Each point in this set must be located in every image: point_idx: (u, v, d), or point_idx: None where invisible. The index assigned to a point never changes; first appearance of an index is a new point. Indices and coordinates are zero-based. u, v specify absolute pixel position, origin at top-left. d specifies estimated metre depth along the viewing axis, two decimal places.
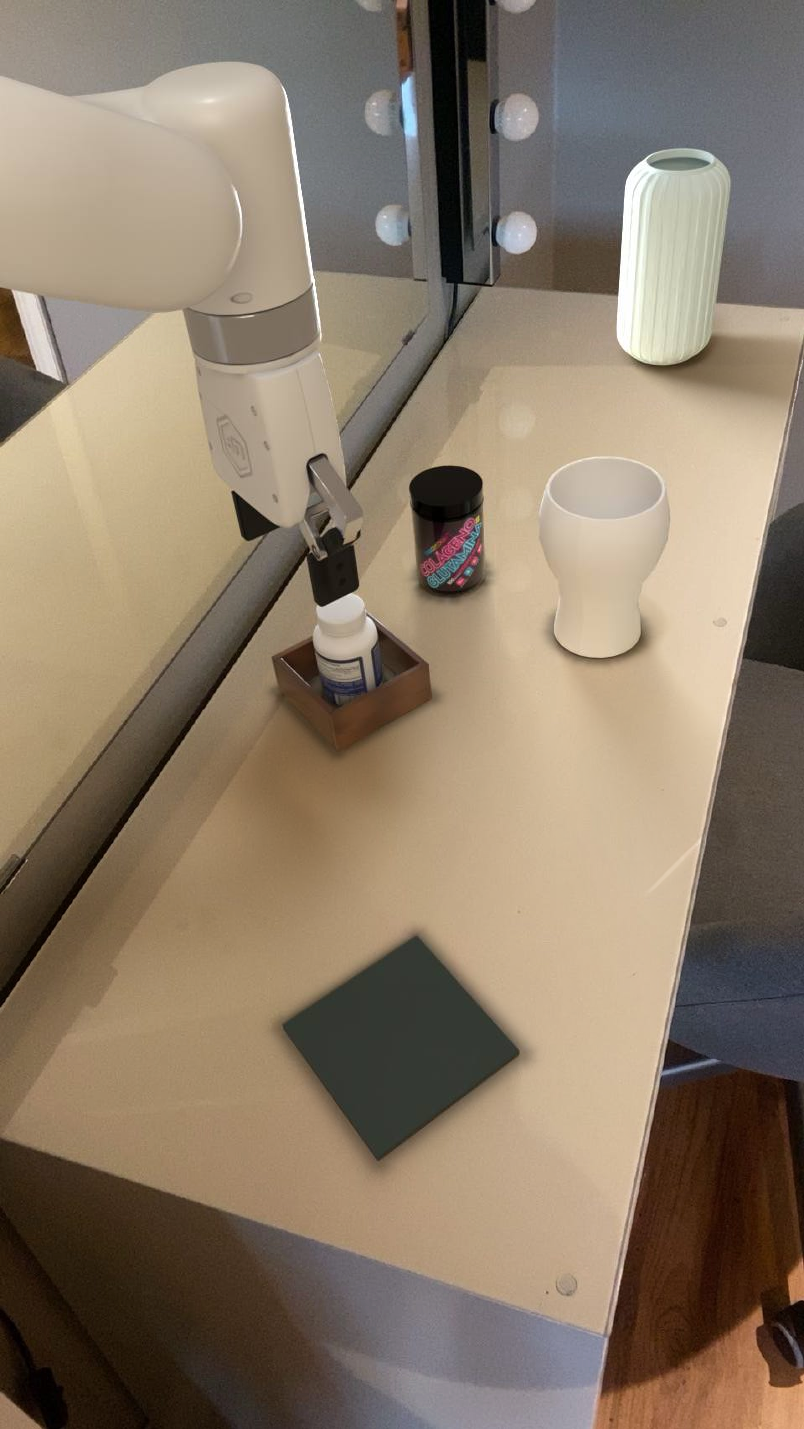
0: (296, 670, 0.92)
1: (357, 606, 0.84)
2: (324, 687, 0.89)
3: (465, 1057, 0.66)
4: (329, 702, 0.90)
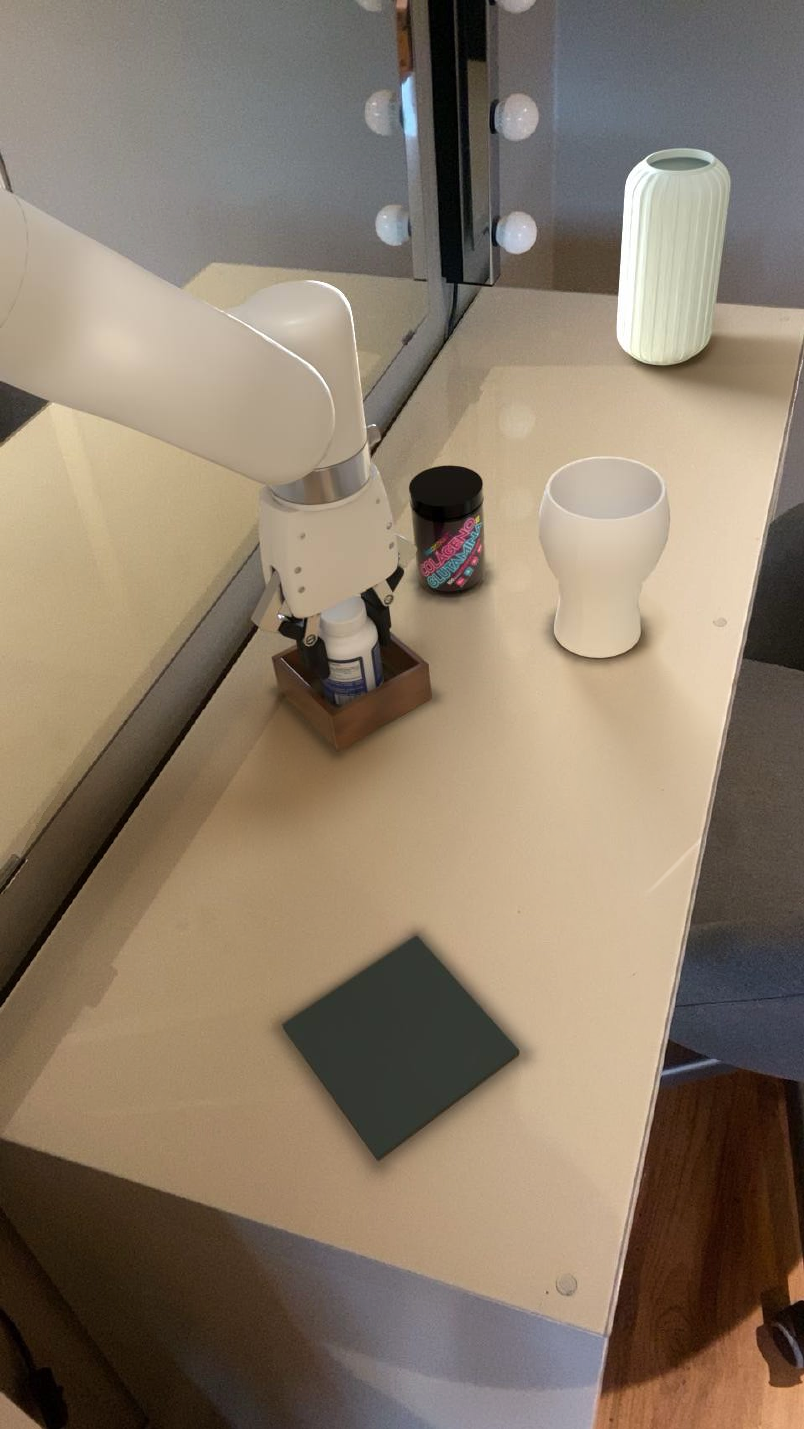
0: (296, 670, 0.92)
1: (357, 605, 0.84)
2: (324, 686, 0.89)
3: (465, 1057, 0.66)
4: (329, 702, 0.90)
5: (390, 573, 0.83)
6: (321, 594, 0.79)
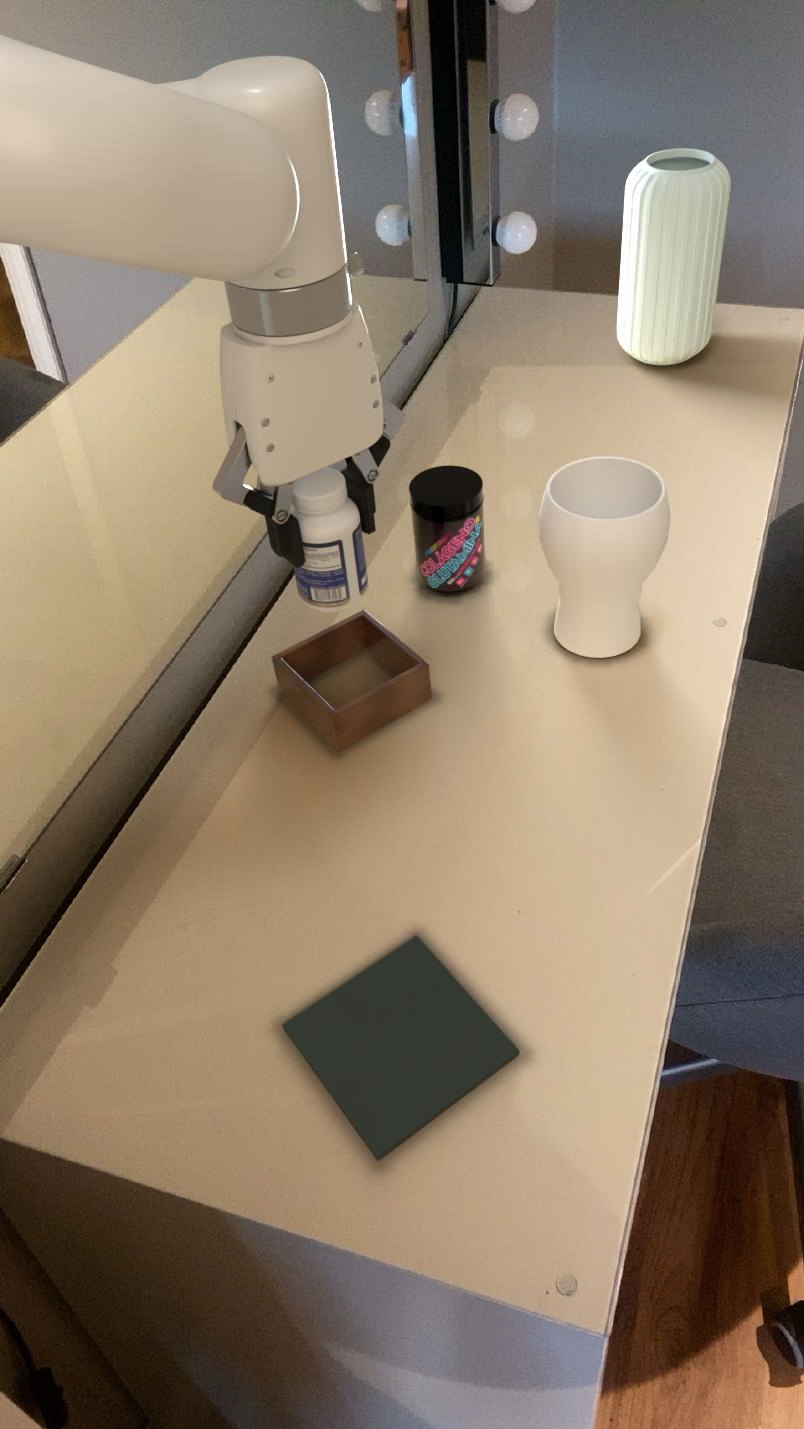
0: (296, 670, 0.92)
1: (336, 480, 0.73)
2: (299, 580, 0.77)
3: (465, 1057, 0.66)
4: (304, 599, 0.78)
5: (374, 440, 0.72)
6: (294, 457, 0.68)
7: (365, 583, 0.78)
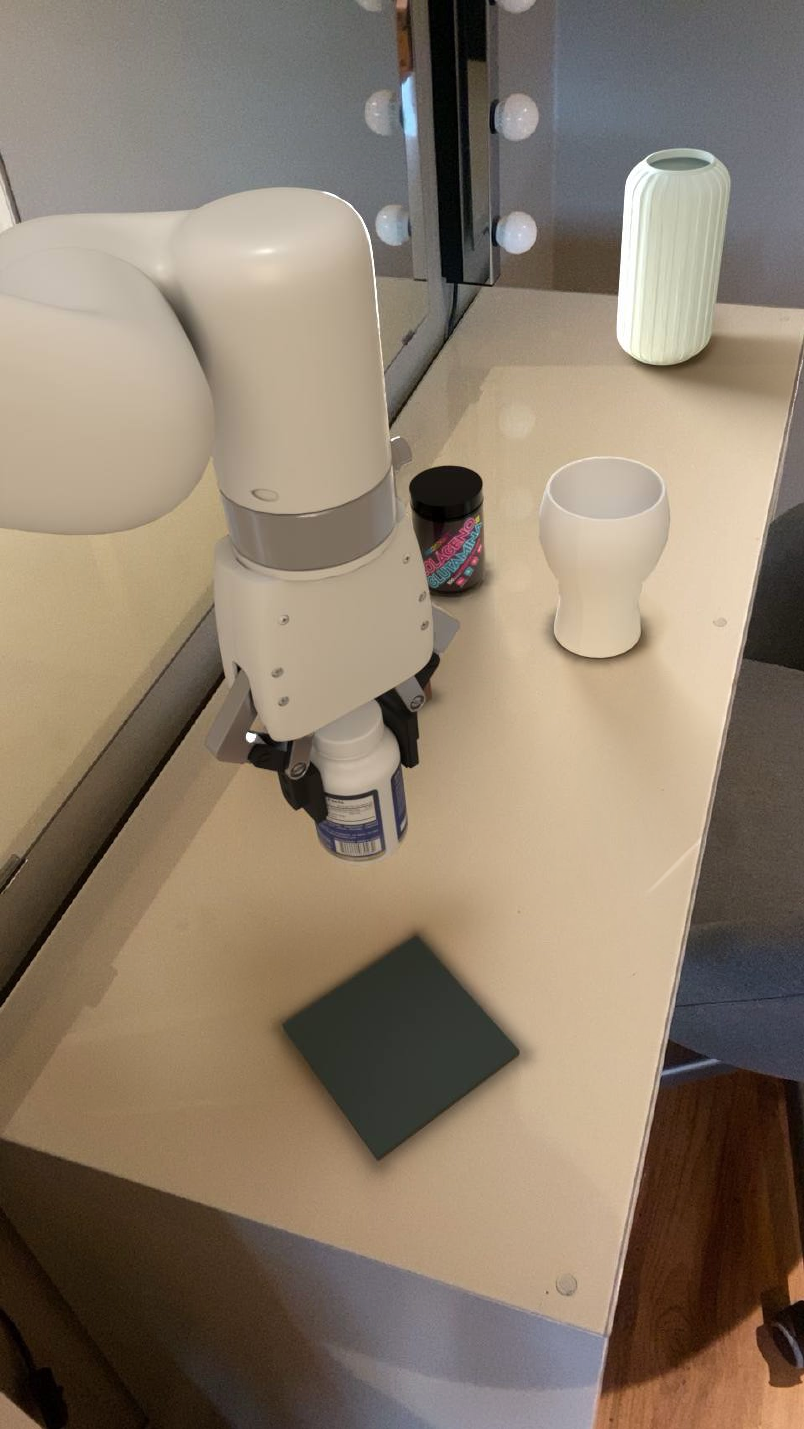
0: None
1: (370, 713, 0.55)
2: (319, 827, 0.59)
3: (465, 1057, 0.66)
4: (326, 848, 0.60)
5: (421, 666, 0.54)
6: (315, 705, 0.50)
7: (405, 826, 0.60)
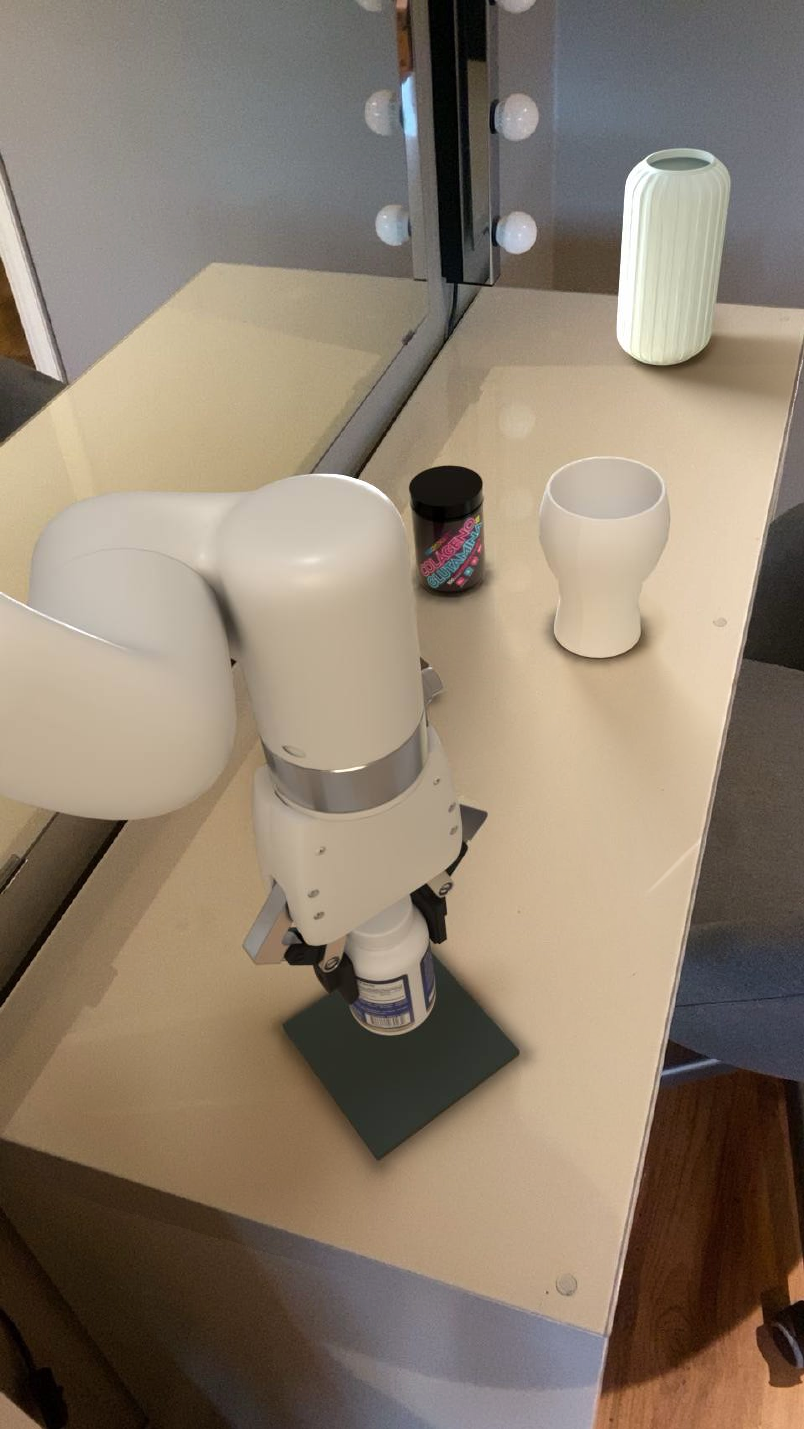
0: None
1: (401, 903, 0.57)
2: None
3: (465, 1057, 0.66)
4: (357, 1017, 0.62)
5: (450, 862, 0.55)
6: (349, 914, 0.52)
7: (433, 996, 0.62)
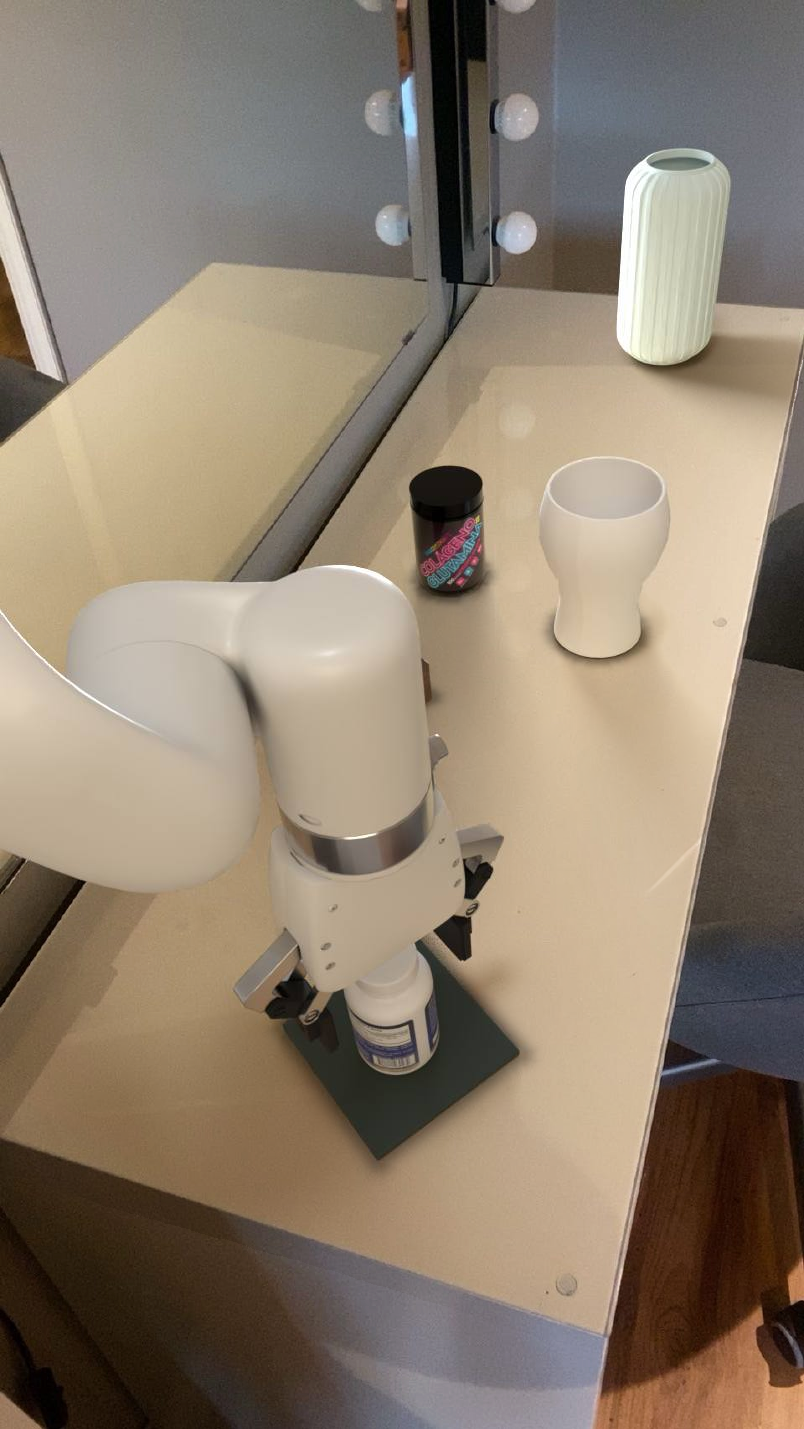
0: None
1: (407, 953, 0.60)
2: (358, 1041, 0.65)
3: (465, 1057, 0.66)
4: (364, 1057, 0.66)
5: (454, 912, 0.59)
6: (358, 963, 0.55)
7: (436, 1037, 0.66)
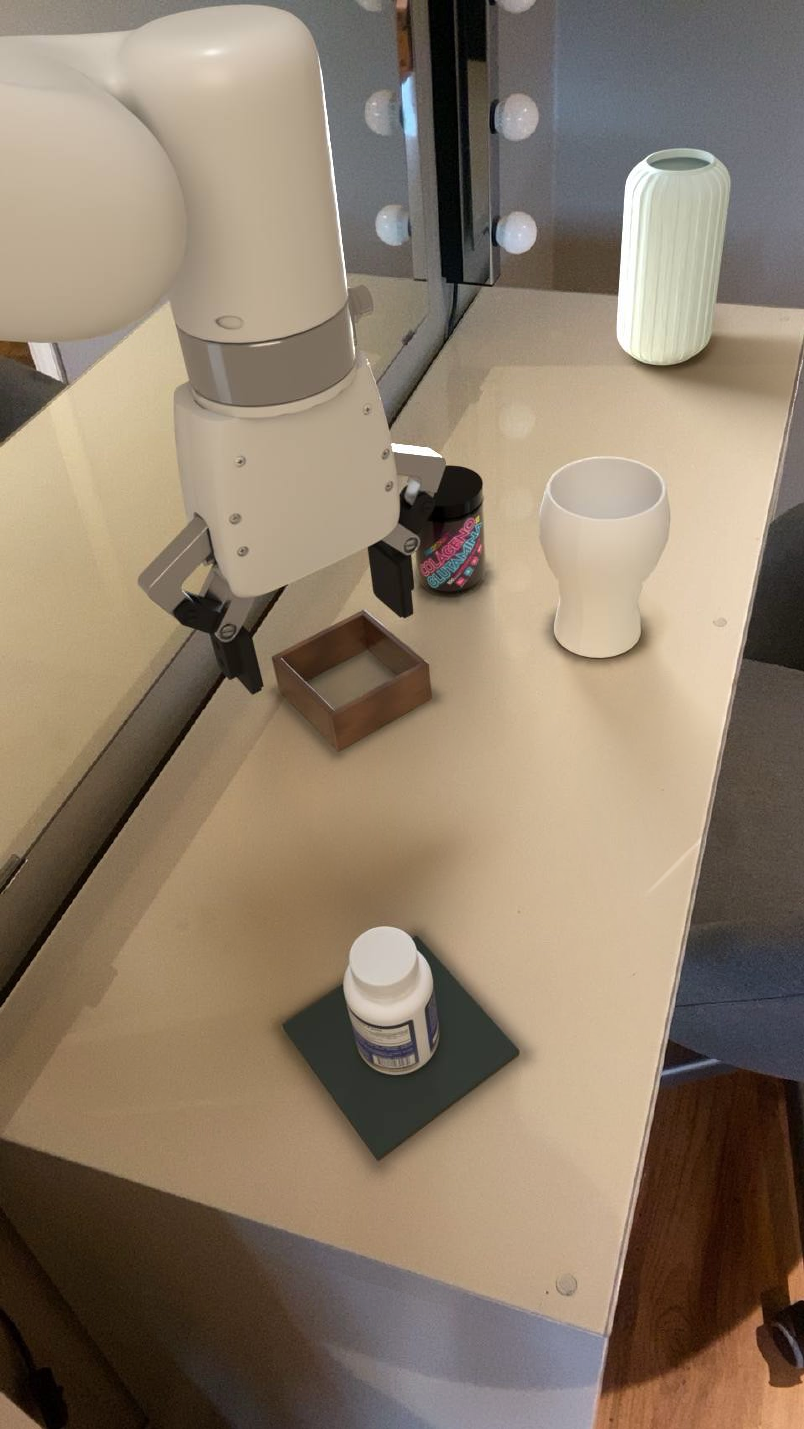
0: (296, 670, 0.92)
1: (407, 953, 0.60)
2: (358, 1041, 0.65)
3: (465, 1057, 0.66)
4: (364, 1057, 0.66)
5: (387, 531, 0.54)
6: (276, 560, 0.50)
7: (436, 1037, 0.66)
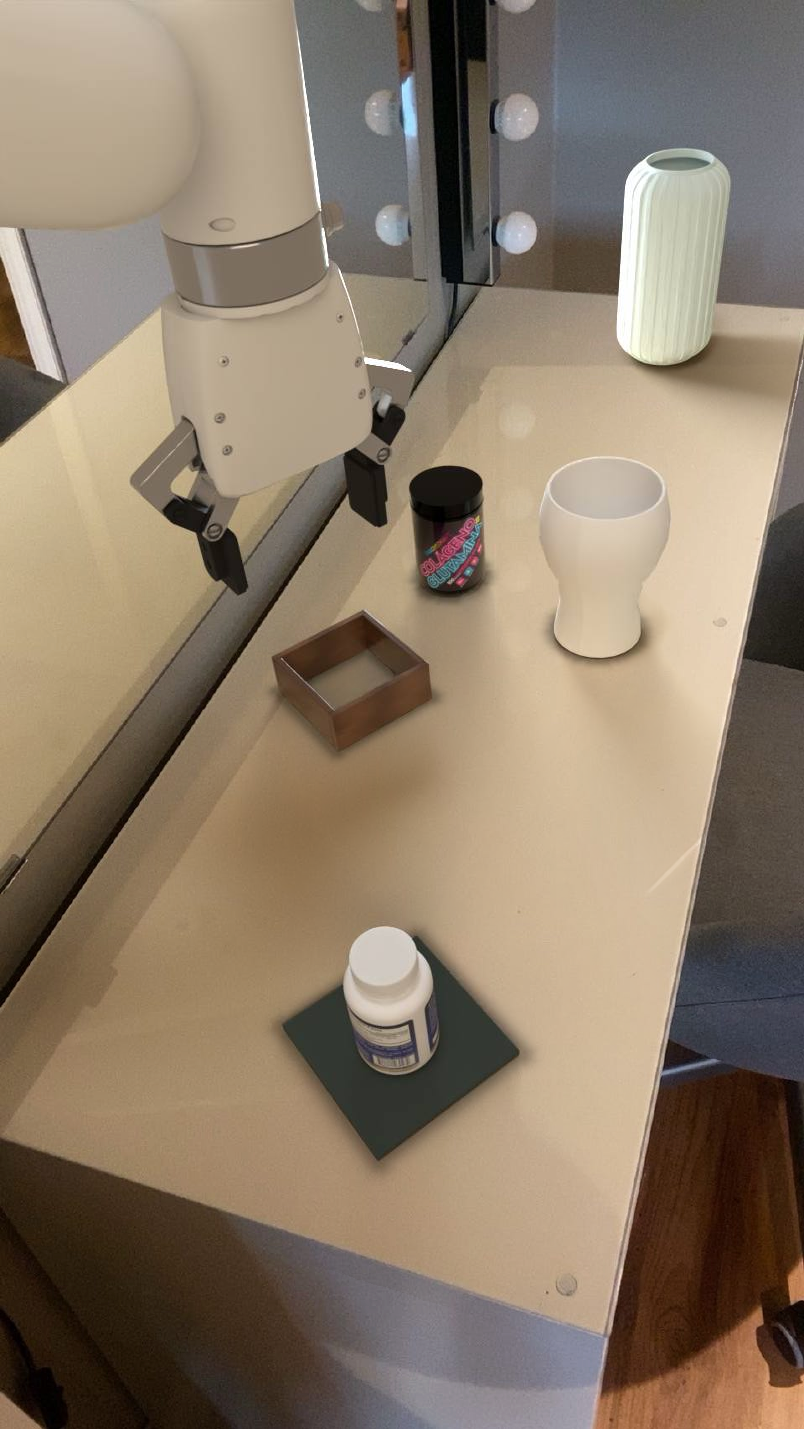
0: (296, 670, 0.92)
1: (407, 953, 0.60)
2: (358, 1041, 0.65)
3: (465, 1057, 0.66)
4: (364, 1057, 0.66)
5: (361, 438, 0.58)
6: (258, 461, 0.54)
7: (436, 1037, 0.66)
